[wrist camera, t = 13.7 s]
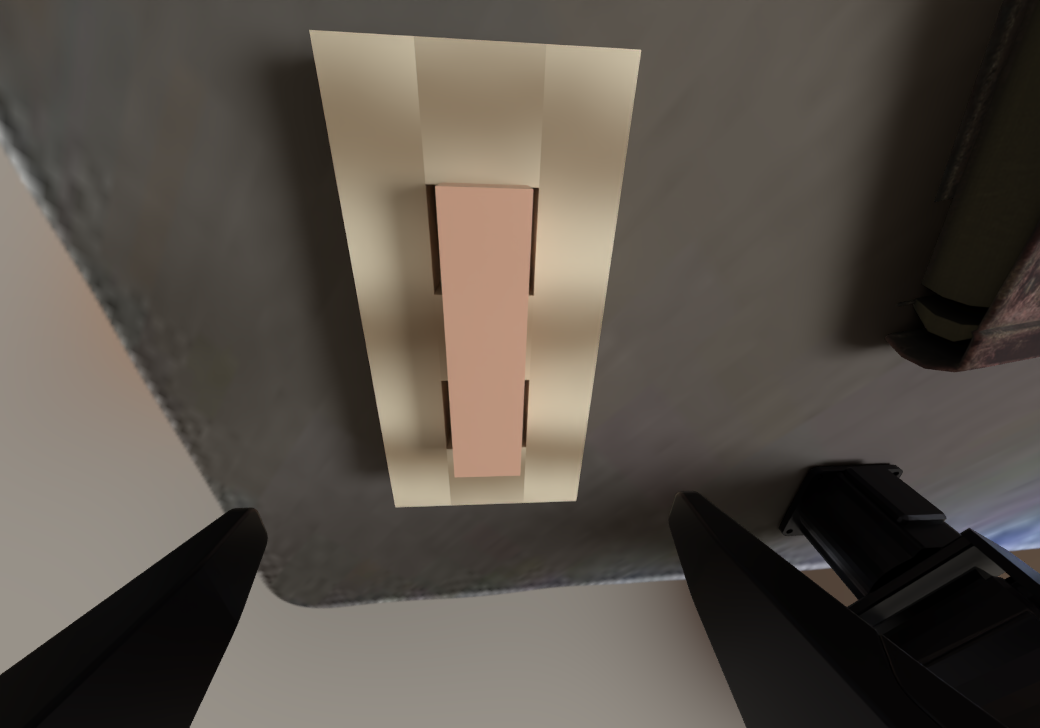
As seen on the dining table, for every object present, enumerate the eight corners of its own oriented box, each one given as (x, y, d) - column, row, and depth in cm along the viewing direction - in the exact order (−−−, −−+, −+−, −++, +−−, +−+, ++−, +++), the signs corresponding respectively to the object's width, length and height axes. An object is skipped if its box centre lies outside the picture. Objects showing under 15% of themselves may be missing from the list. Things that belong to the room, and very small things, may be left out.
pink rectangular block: (514, 411, 22) (520, 475, 17) (461, 412, 22) (454, 477, 17) (521, 180, 16) (533, 189, 12) (450, 178, 16) (434, 186, 11)
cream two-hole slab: (566, 463, 24) (576, 500, 21) (406, 467, 23) (395, 507, 21) (613, 69, 14) (641, 49, 12) (344, 55, 14) (309, 30, 11)
